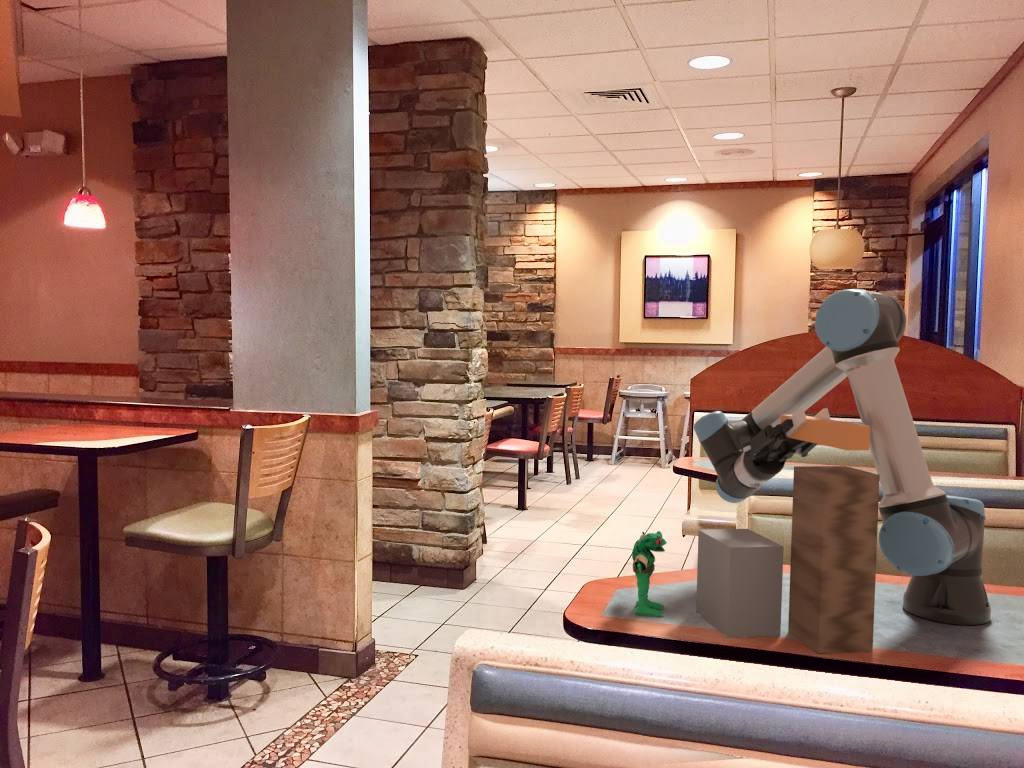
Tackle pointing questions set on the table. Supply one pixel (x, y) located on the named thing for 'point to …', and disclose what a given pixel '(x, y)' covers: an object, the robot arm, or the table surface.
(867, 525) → the post
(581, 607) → the table surface
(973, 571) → the robot arm
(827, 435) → the orange rectangular bar
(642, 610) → the toy
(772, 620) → the grey upright cuboid
